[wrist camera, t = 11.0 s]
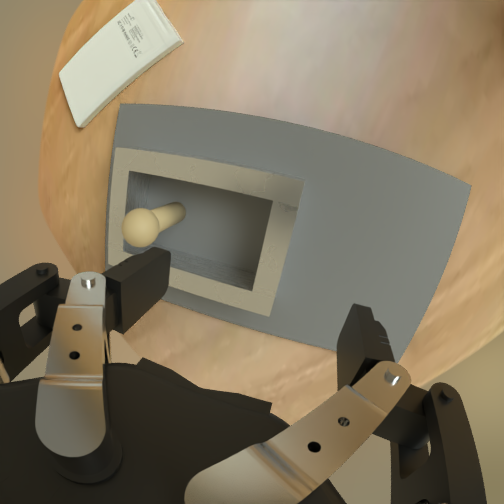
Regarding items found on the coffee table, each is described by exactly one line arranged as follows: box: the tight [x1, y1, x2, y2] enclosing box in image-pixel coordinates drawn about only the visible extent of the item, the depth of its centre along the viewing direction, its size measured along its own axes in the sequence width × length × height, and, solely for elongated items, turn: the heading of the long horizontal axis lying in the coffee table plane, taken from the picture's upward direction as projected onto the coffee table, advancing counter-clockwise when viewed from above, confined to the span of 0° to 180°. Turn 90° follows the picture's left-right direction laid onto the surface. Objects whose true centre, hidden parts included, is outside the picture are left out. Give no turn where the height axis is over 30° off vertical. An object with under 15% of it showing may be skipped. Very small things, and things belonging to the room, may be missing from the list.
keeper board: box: [105, 104, 471, 363], centre depth 18 cm, size 28×16×7 cm, turn 78°
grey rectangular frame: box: [108, 147, 306, 317], centre depth 19 cm, size 13×9×3 cm
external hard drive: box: [59, 0, 184, 128], centre depth 19 cm, size 2×8×12 cm
